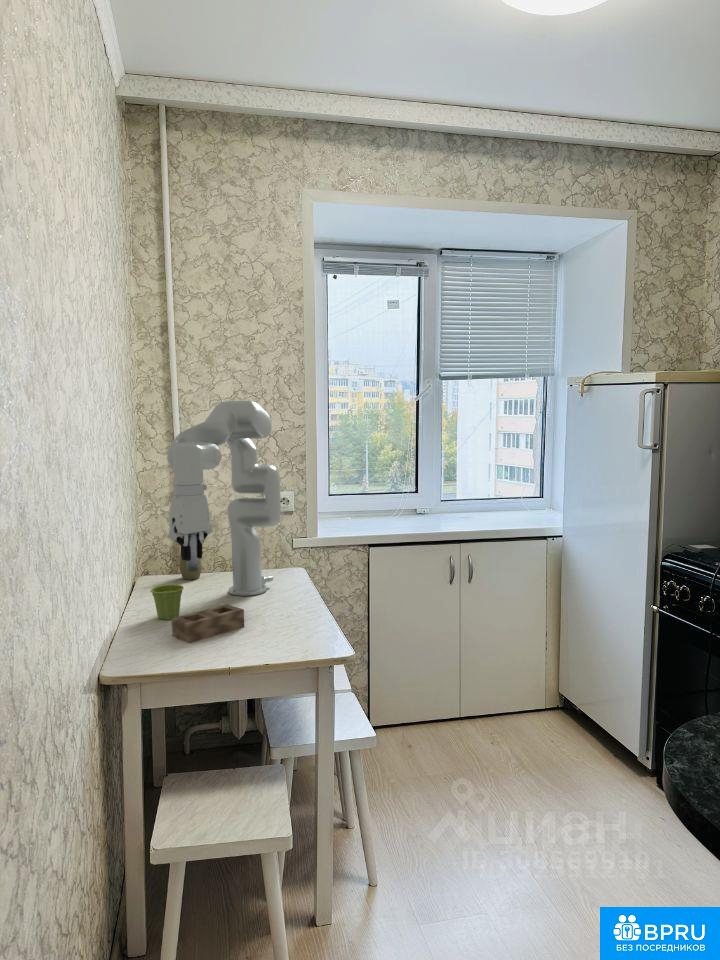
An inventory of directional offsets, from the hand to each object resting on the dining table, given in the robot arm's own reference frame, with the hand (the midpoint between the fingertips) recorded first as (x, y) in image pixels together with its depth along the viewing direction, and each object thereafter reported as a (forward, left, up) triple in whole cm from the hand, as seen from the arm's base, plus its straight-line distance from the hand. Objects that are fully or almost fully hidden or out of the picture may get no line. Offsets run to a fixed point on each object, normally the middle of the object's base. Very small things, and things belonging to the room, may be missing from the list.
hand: (192, 558), depth 184 cm
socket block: (-4, 0, -21) cm, 22 cm away
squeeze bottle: (-35, -57, -22) cm, 70 cm away
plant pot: (-4, -21, -22) cm, 30 cm away
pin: (0, 0, -3) cm, 3 cm away
